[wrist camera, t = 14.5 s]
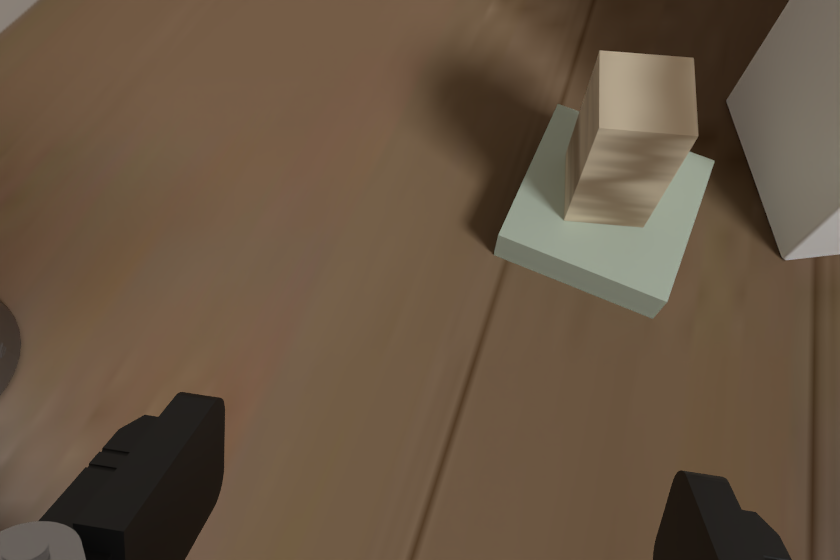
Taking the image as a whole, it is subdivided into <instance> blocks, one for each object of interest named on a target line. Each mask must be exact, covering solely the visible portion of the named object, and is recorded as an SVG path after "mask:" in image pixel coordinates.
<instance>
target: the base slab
mask: <svg viewBox="0 0 840 560" xmlns="http://www.w3.org/2000/svg"><path fill="white" fill-rule="evenodd" d="M578 115H579V111H576V110H574V109H571V108H568V107H565V106H563V105H560V104H558V105H557V107H556V109H555V111H554V113H553V116H552V118H551V120H550V122H549V124H548V127H547V129H546V131H545V133H544V135H543V138H542V140H541V142H540V144H539V146H538V149H537V151H536V153H535V155H534V157H533V160H532V162H531V164H530V166H529V168H528V171H527V173H526V175H525V177H524V179H523V182H522V184H521V186H520V188H519V190H518V193H517V195H516V197H515V199H514V201H513V204H512V206H511V208H510V210H509V212H508V215H507V217H506V219H505V221H504V223H503V226H502V228H501V230H500V232H499V234H498V238H497V242H496V247H495V251H494V255H495V256H498V257H500V258H503V259H505V260H508V261H510V262H513V263H515V264H518V265H520V266H523V267H525V268H528V269H530V270H533V271H535V272H538V273H540V274H543V275H545V276H548V277H550V278H553V279H555V280H558V281H560V282H563V283H565V284H568V285H570V286H573V287H575V288H578V289H580V290H583V291H585V292H587V293H590V294H592V295H595V296H597V297H600V298H602V299H605V300H607V301H610V302H612V303H615V304H617V305H620V306H622V307H625V308H627V309H630V310H632V311H635V312H637V313H640V314H642V315H645V316H647V317H650V318H652V319H653V318H654V317H655V316H656V314H657V313H658V312H659V311H660V310H661V309H662V308H663V306H664V305H665V304H666V303H667V301H668V298H669V295H670V292H671V289H672V286H673V283H674V280H675V277H676V274H677V272H678V269H679V266H680V263H681V260H682V257H683V254H684V251H685V248H686V245H687V242H688V239H689V236H690V233H691V230H692V227H693V224H694V221H695V218H696V215H697V212H698V209H699V206H700V203H701V200H702V197H703V194H704V192H705V189H706V186H707V183H708V180H709V177H710V174H711V171H712V168H713V165H714V162H715V161H714V160H711V159H709V158H706V157H703V156H700V155H698V154H695V153H692V152H689V153H688V154H687V156H686V158H685V159H684V161H683V163H682V164H681V166H680V168H679V169H678V171H677V173H676V174H675V176H674V178H673V179H672V181H671V183H670V184H669V186H668V188H667V189H666V191H665V193H664V194H663V196H662V198H661V199H660V201H659V202H658V204H657V206H656V207H655V209H654V211H653V212H652V214H651V216H650V217H649V219H648V221H647V222H646V224H645V226H644V227H643V228H642V227H630V226H619V225H608V224H596V223H585V222H574V221H564V197H565V159H566V151H567V148H568V145H569V142H570V139H571V136H572V133H573V130H574V127H575V124H576V121H577V118H578Z"/></svg>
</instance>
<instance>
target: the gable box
mask: <svg viewBox="0 0 840 560" xmlns="http://www.w3.org/2000/svg"><path fill="white" fill-rule="evenodd" d="M726 102H727V105H728V108H729V111H730V113H731V116H732V119H733V122H734V125H735V128H736V130H737V133H738V136H739V139H740V142H741V144H742V147H743V150H744V153H745V156H746V158H747V161H748V164H749V167H750V170H751V173H752V175H753V178H754V181H755V184H756V187H757V189H758V192H759V195H760V198H761V201H762V204H763V206H764V209H765V212H766V215H767V218H768V220H769V223H770V226H771V229H772V232H773V234H774V237H775V240H776V243H777V246H778V249H779V251H780V254H781V257H782V258H783V259H785V260H792V259H801V258H810V257H819V256H827V255H836V254H840V0H789V2H788V3H787V5H786V6H785V8H784V10H783V11H782V13H781V14H780V16H779V18H778V19H777V21H776V22H775V24H774V25H773V27H772V29H771V30H770V32H769V33H768V35H767V37H766V38H765V40H764V41H763V43H762V45H761V46H760V48H759V49H758V51H757V52H756V54H755V56H754V57H753V59H752V60H751V62H750V64H749V65H748V67H747V68H746V70H745V72H744V73H743V75H742V76H741V78H740V79H739V81H738V83H737V84H736V86H735V87H734V89H733V91H732V92H731V94H730V95H729V97H728V98H727V100H726Z"/></svg>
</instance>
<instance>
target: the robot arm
mask: <svg viewBox="0 0 840 560" xmlns="http://www.w3.org/2000/svg"><path fill="white" fill-rule="evenodd" d="M20 347H21V340H20V332H19V328H18V325H17V323H16V320H15V318H14V316H13V315H12V313H11V312H10V311H9V309H8V308H7V307H6V306H5V305H4V304H3V303H1V302H0V395H1V393H2V392H3V391H4V390H5V388H6V387H7V385H8V383H9V382H10V380H11V378H12V376H13V374H14V372H15V369H16V366H17V363H18V360H19V356H20ZM224 432H225V406H224V401H223V399H222V398H217V397H211V396H204V395H198V394H191V393H185V392H180V393H178V394H177V395H176V396H175V397H174V398H173V400H172V401H171V402H170V403H169V405H168V406H167V407H166V408H165V410H164V411H163V412H162V413H161V415H160V416H159V417H155V416H149V415H144V416H142V417H140V418H138V419H137V420H135V421H133V422H131V423H129V424H128V425H126V426H124V427H122V428H121V429H119V430H118V431H117V432H116V433H115V434H114V436H113V437H112V438H111V439H110V440H109V441H108V442H107V444H106V445H105V446H104V447H103V449H102V452H99V453H98V454H97V455H96V456H95V457H94V458H93V460H92V461H91V462H90V463H89V467H88V468H85V469H84V470H83V471H82V472H81V473H80V474H79V475H78V477H77V478H76V479H75V480H74V481H73V482H72V483H71V485H70V486H69V487H68V488H67V489H66V490H65V491H64V493H63V494H62V495H61V496H60V497H59V498H58V499H57V501H56V502H55V503H54V504H53V505H52V506H51V507H50V508H49V510H48V511H47V512H46V513H45V514H44V515H43V516H42V518H41V519H40V520H39V521H37V522H29V523H24V524H19V525H16V526H13V527H10V528H7V529H5V530H3V531H1V532H0V560H185V558H186V557H187V555H188V553H189V551H190V549H191V548H192V546H193V544H194V542H195V540H196V539H197V537H198V535H199V533H200V532H201V530H202V528H203V526H204V524H205V523H206V521H207V519H208V517H209V515H210V514H211V512H212V510H213V508H214V506H215V504H216V502H217V499H218V497H219V494H220V490H221V486H222V481H223V474H224ZM653 560H792V559H791V558H790V556H789V554H788V552H787V550H786V548H785V546H784V544H783V542H782V540H781V538H780V536H779V535H778V534H777V533H776V532H775V531H774V530H773V529H772V528H771V527H770V526H769V525H768V524H767V523H766V522H765V521H764V520H763V519H762V518H761V517H760V516H759V515H758V514H757V513H756V512H752V511H745V510H741V507H740V505H739V503H738V501H737V499H736V497H735V495H734V493H733V490H732V488H731V486H730V484H729V482H728V480H727V479H726V478H724V477H720V476H713V475H707V474H700V473H694V472H687V471H678V472H677V474H676V475H675V477H674V480H673V483H672V486H671V489H670V493H669V496H668V499H667V503H666V506H665V510H664V513H663V516H662V520H661V523H660V527H659V530H658V533H657V537H656V541H655V545H654V552H653Z"/></svg>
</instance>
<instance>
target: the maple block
mask: <svg viewBox="0 0 840 560" xmlns="http://www.w3.org/2000/svg"><path fill="white" fill-rule="evenodd" d="M697 138H698V119H697V103H696V86H695V69H694V58H690V57H678V56H665V55H652V54H640V53H627V52H614V51H602V50H599V53H598V57H597V60H596V63H595V66H594V69H593V72H592V75H591V78H590V81H589V84H588V87H587V90H586V93H585V96H584V99H583V102H582V105H581V109H580V112H579V115H578V118H577V121H576V124H575V127H574V130H573V133H572V136H571V139H570V142H569V145H568V148H567V151H566V159H565V197H564V221H574V222H585V223H596V224H608V225H619V226H630V227H642V228H643V227H644V226H645V224H646V222H647V221H648V219H649V217H650V216H651V214H652V212H653V211H654V209H655V207H656V206H657V204H658V202H659V201H660V199H661V198H662V196H663V194H664V193H665V191H666V189H667V188H668V186H669V184H670V183H671V181H672V179H673V178H674V176H675V174H676V173H677V171H678V169H679V168H680V166H681V164H682V163H683V161H684V159H685V158H686V156H687V154H688V153H689V151H690V149H691V148H692V146H693V144H694V143H695V141H696V139H697Z"/></svg>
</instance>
